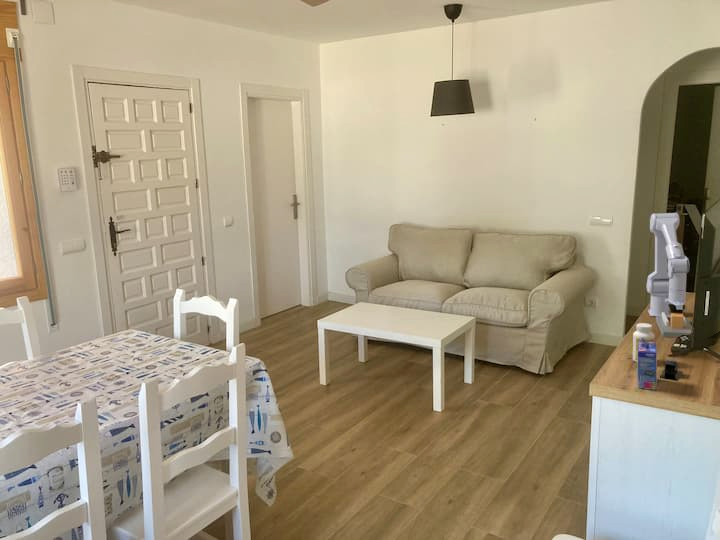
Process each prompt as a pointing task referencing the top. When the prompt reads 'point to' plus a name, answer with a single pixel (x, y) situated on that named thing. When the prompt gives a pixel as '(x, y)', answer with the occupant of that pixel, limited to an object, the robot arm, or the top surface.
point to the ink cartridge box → (647, 365)
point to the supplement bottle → (642, 336)
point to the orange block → (677, 320)
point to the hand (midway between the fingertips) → (675, 322)
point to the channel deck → (667, 331)
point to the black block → (671, 371)
